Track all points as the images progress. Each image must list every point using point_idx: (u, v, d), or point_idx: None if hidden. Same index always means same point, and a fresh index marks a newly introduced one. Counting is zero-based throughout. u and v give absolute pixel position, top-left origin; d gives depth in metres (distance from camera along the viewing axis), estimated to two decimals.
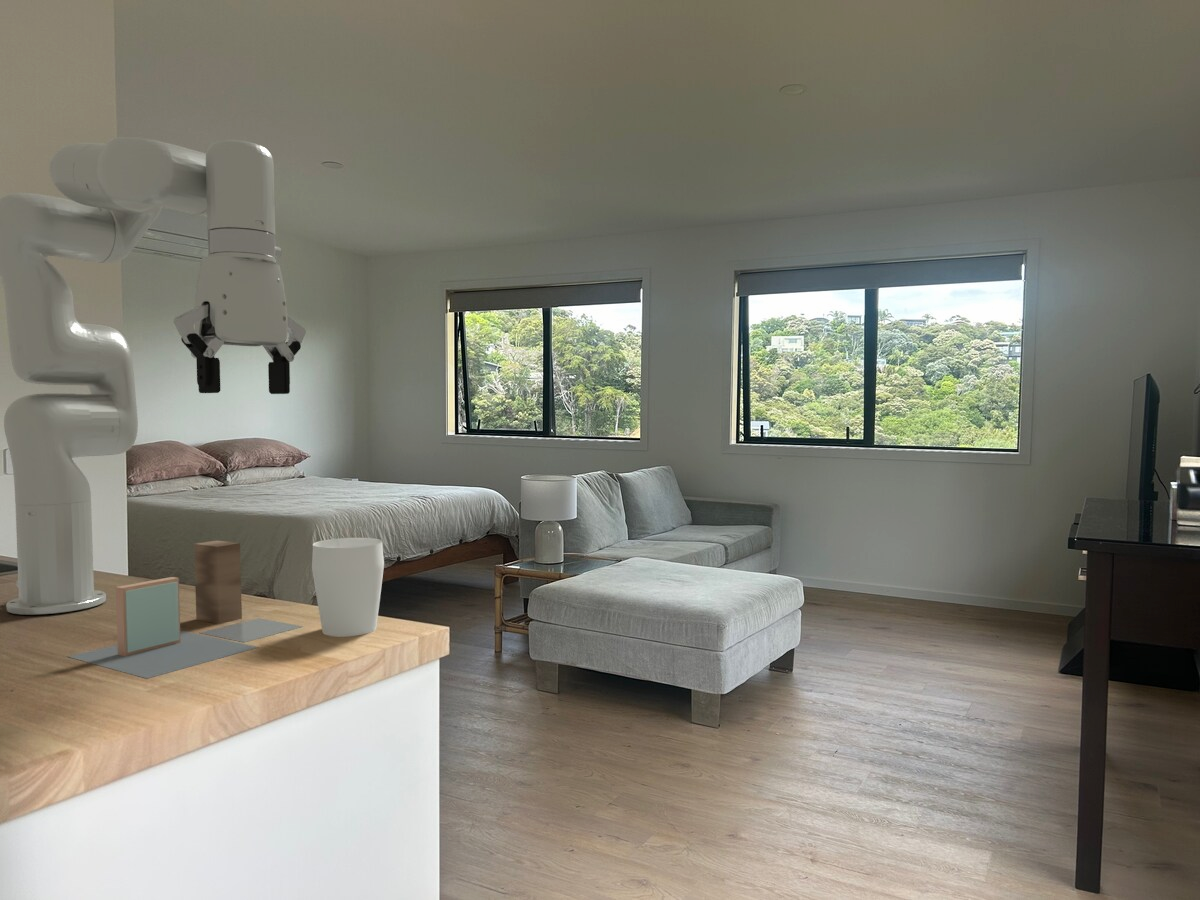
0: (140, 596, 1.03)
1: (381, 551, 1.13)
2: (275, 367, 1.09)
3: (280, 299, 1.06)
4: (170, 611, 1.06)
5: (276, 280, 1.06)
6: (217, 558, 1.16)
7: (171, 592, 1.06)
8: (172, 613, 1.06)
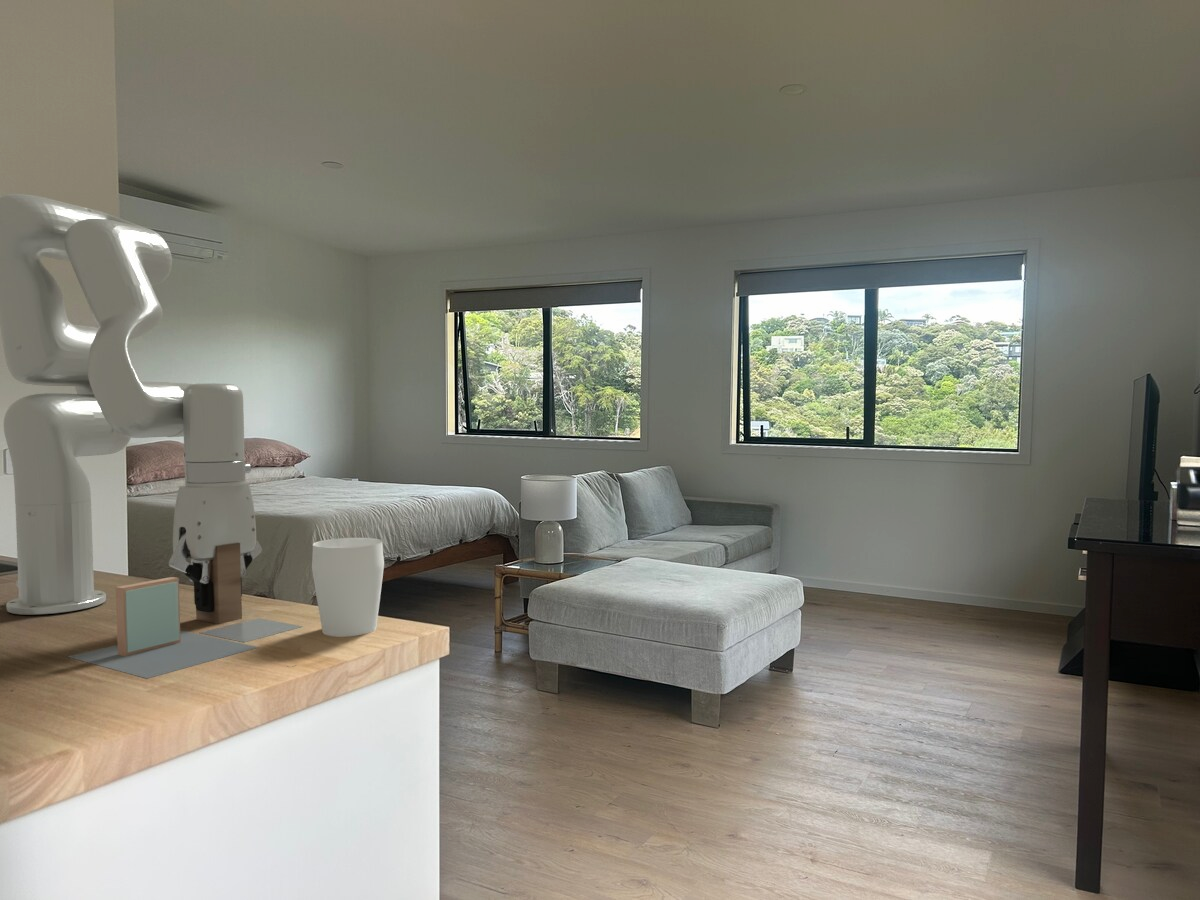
0: (140, 596, 1.03)
1: (381, 551, 1.13)
2: None
3: (249, 513, 1.21)
4: (170, 611, 1.06)
5: (246, 498, 1.20)
6: (217, 558, 1.16)
7: (171, 592, 1.06)
8: (172, 613, 1.06)
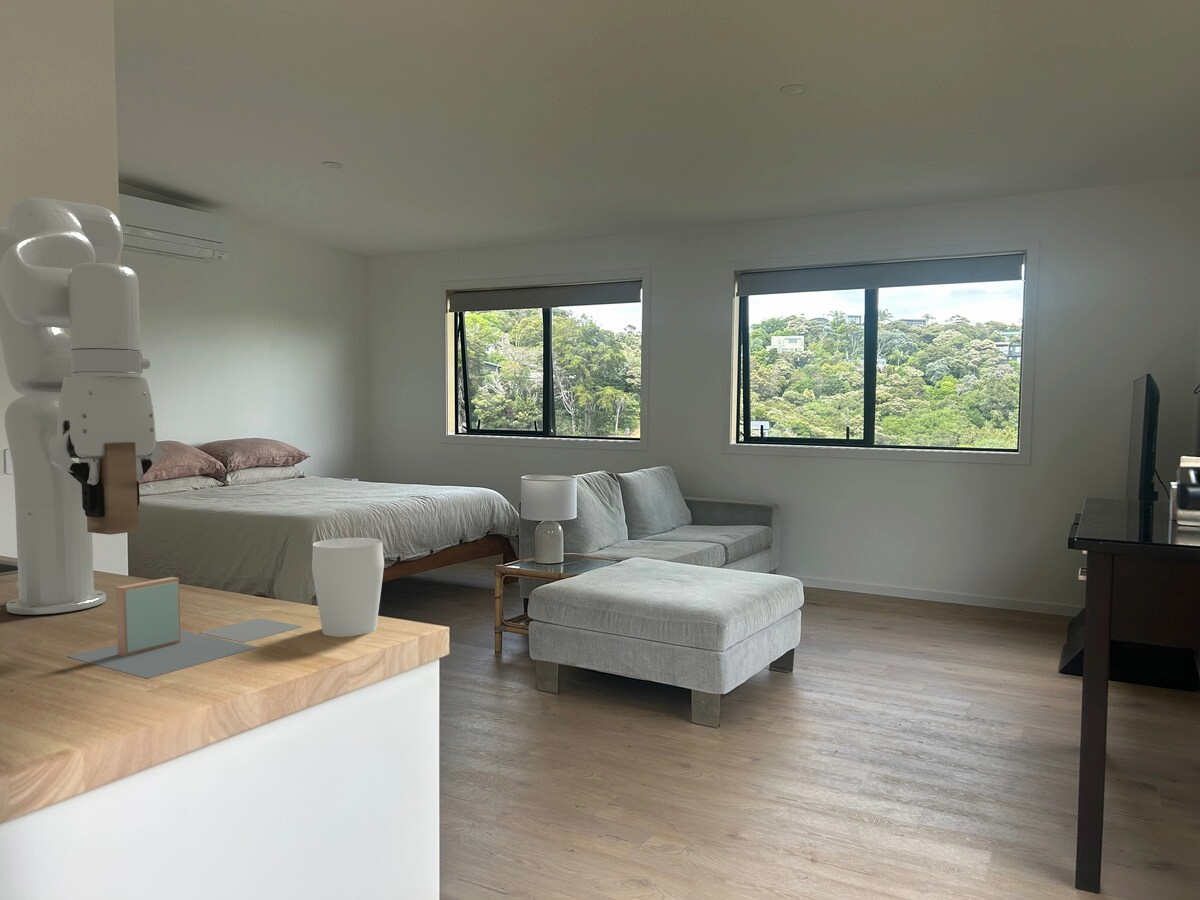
0: (140, 596, 1.03)
1: (381, 551, 1.13)
2: None
3: (146, 411, 1.09)
4: (170, 611, 1.06)
5: (142, 394, 1.09)
6: (107, 456, 1.05)
7: (171, 592, 1.06)
8: (172, 613, 1.06)
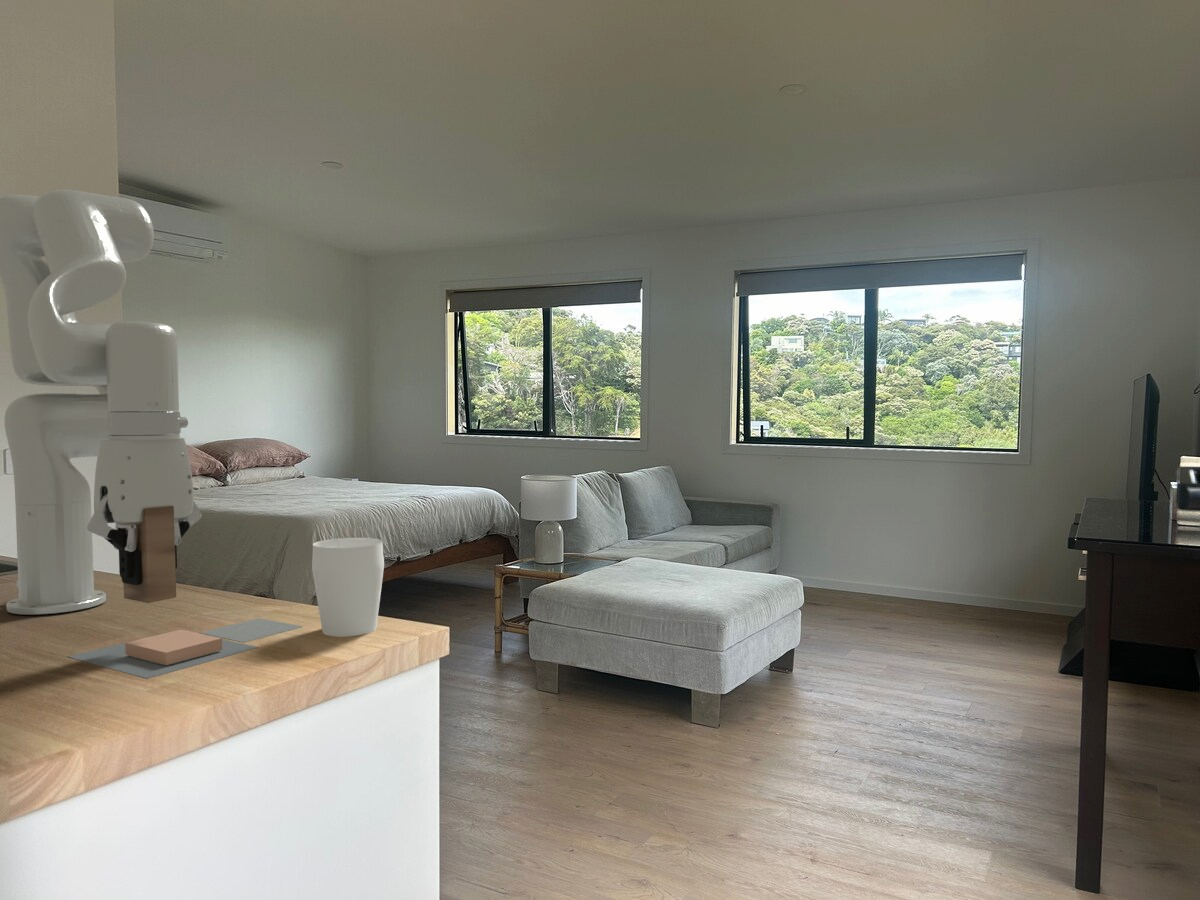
0: None
1: (381, 551, 1.13)
2: None
3: (185, 472, 1.06)
4: None
5: (180, 455, 1.05)
6: (145, 522, 1.01)
7: None
8: None
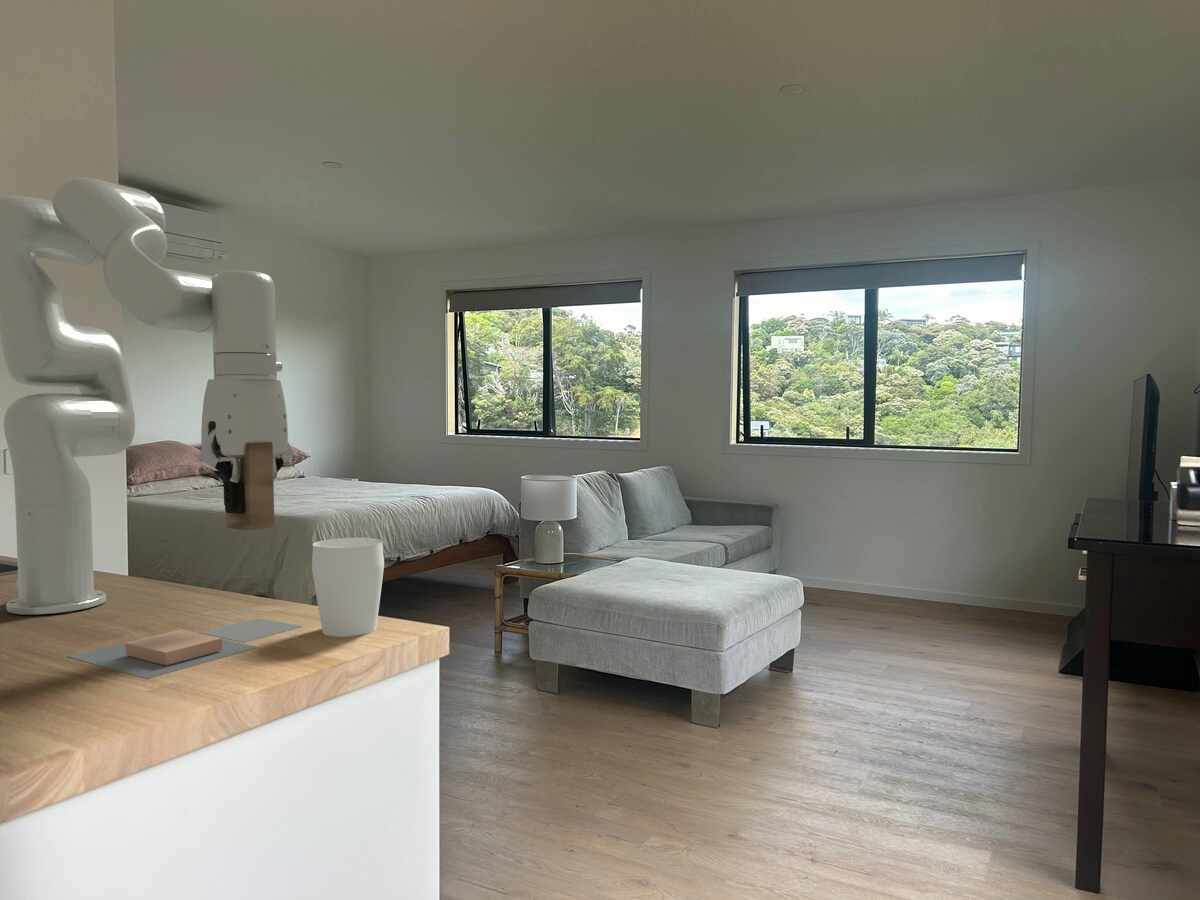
0: None
1: (381, 551, 1.13)
2: None
3: (281, 412, 1.14)
4: None
5: (277, 395, 1.13)
6: (249, 455, 1.09)
7: None
8: None
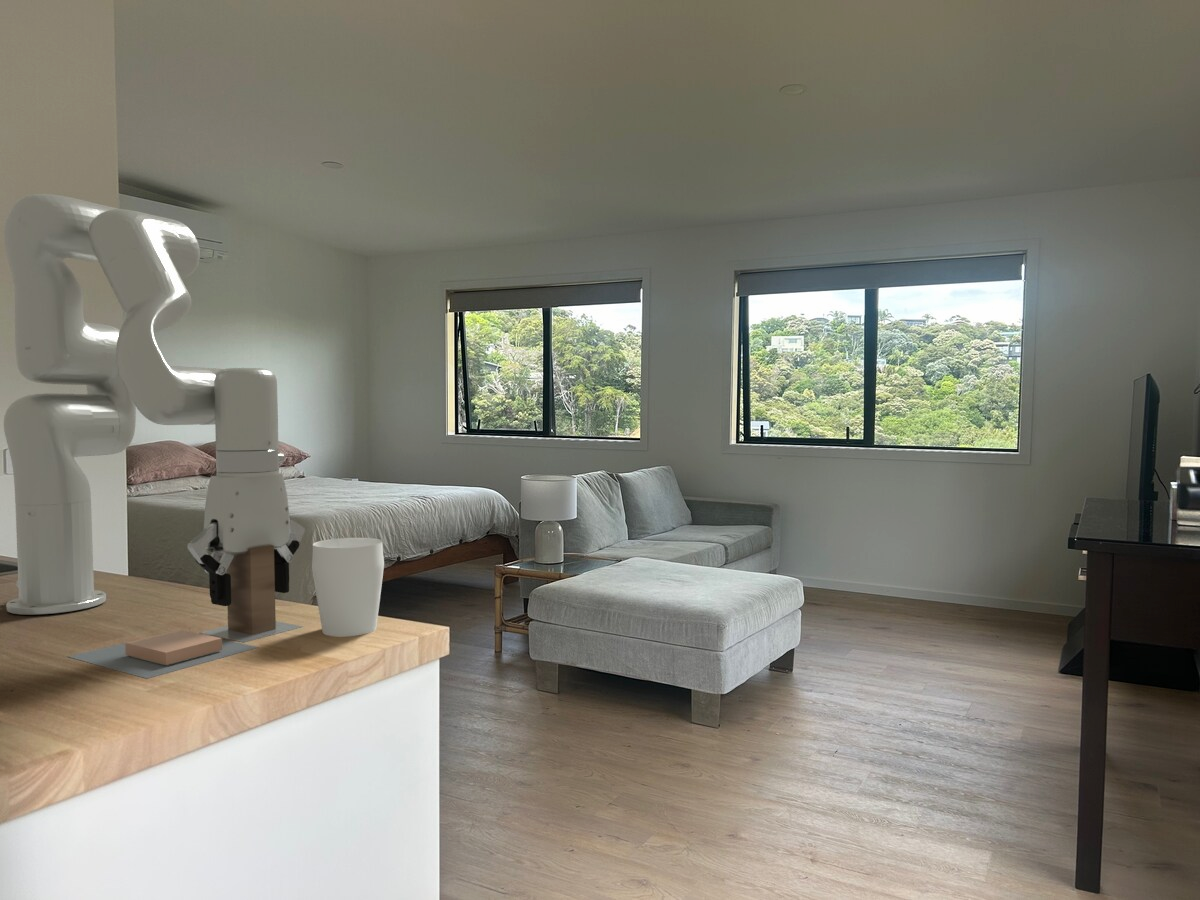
0: None
1: (381, 551, 1.13)
2: (275, 568, 1.17)
3: (283, 505, 1.15)
4: None
5: (279, 489, 1.14)
6: (250, 561, 1.10)
7: None
8: None
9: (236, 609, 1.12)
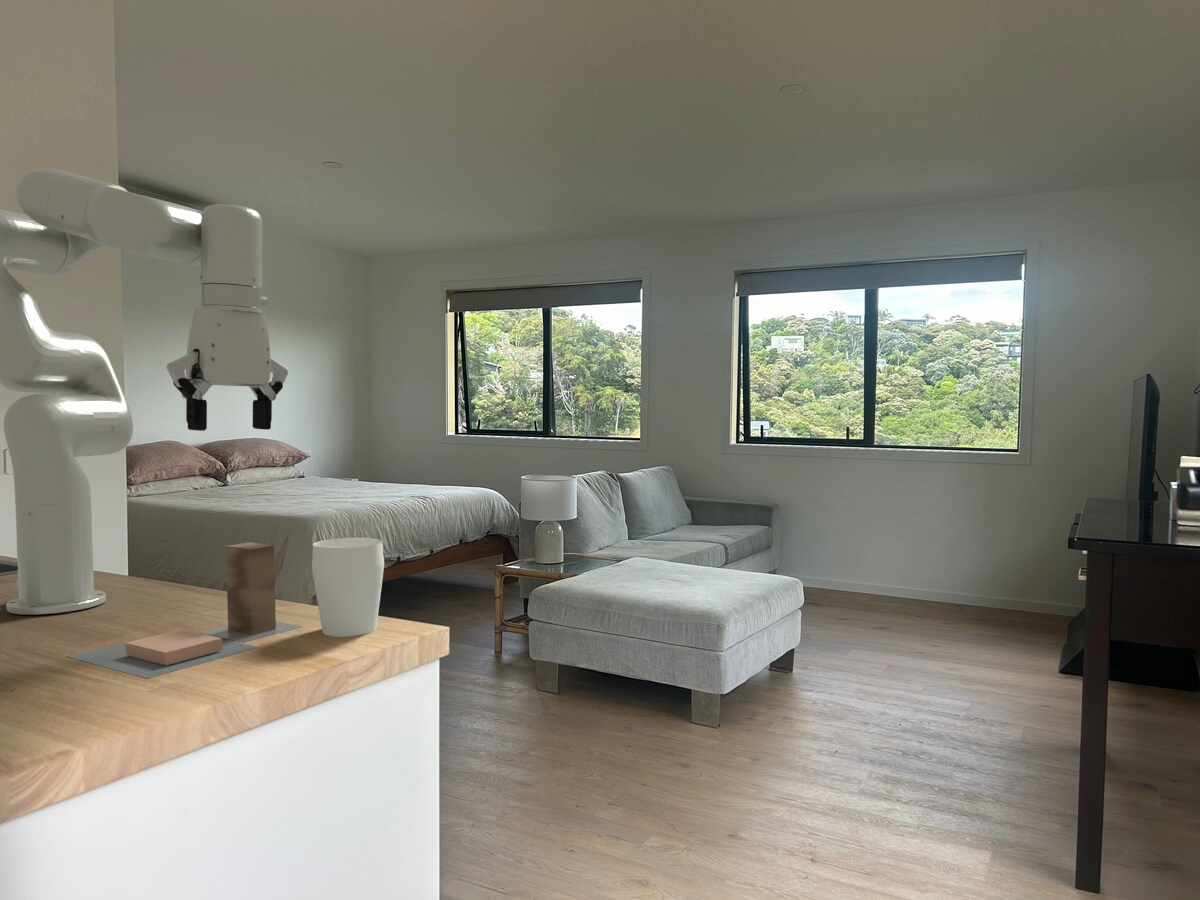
0: None
1: (381, 551, 1.13)
2: (258, 405, 1.21)
3: (264, 345, 1.18)
4: None
5: (261, 329, 1.18)
6: (250, 561, 1.10)
7: None
8: None
9: (236, 609, 1.12)
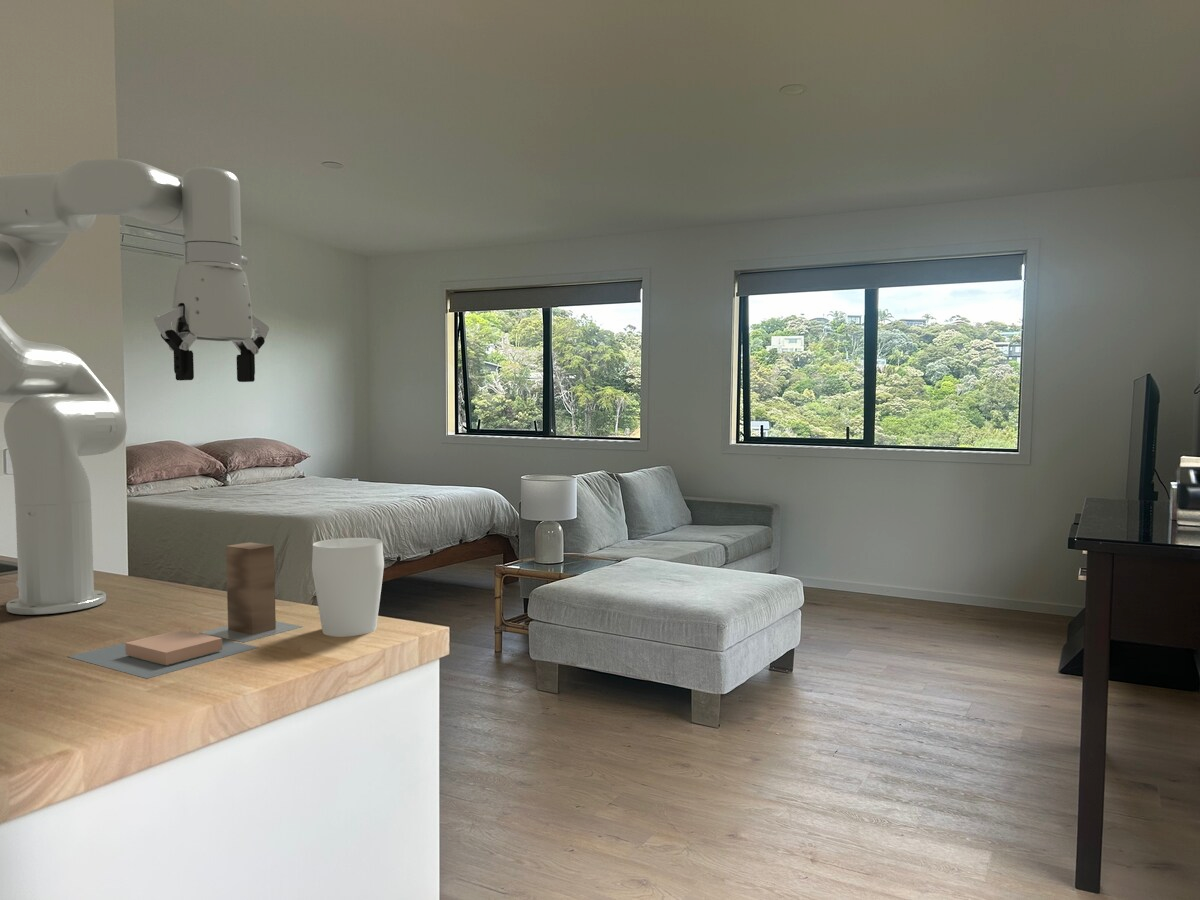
0: None
1: (381, 551, 1.13)
2: (242, 359, 1.27)
3: (246, 300, 1.25)
4: None
5: (242, 285, 1.25)
6: (250, 561, 1.10)
7: None
8: None
9: (236, 609, 1.12)
